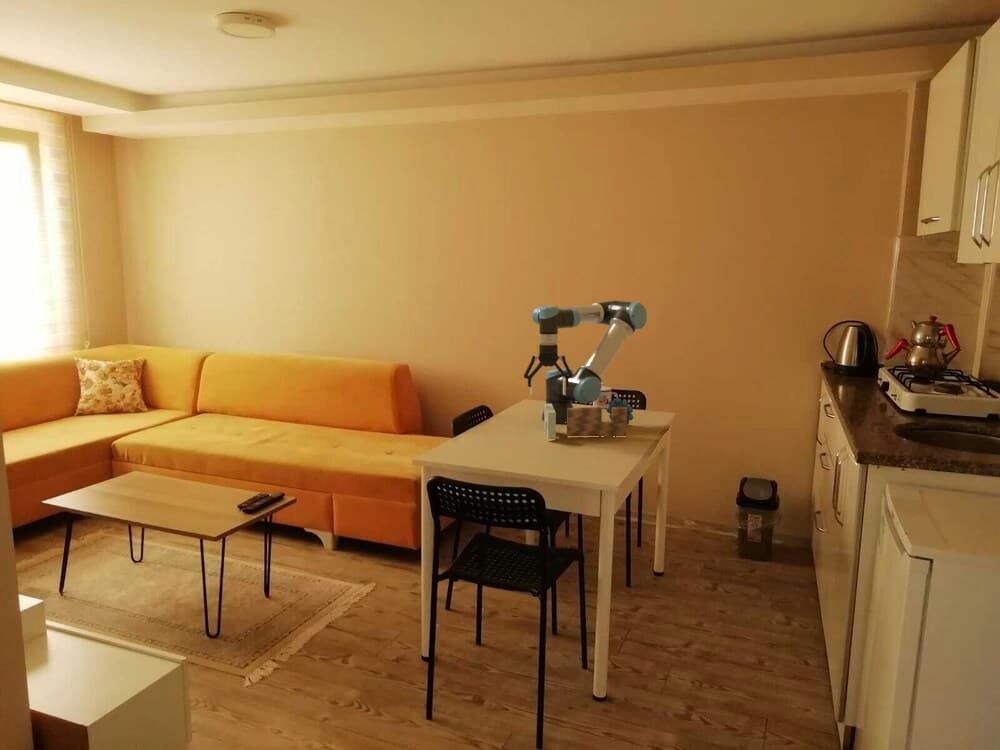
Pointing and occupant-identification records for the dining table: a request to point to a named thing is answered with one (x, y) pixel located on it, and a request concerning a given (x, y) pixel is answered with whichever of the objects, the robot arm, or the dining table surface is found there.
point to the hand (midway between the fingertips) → (547, 394)
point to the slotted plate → (550, 421)
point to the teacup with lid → (604, 397)
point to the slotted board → (596, 422)
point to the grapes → (619, 403)
